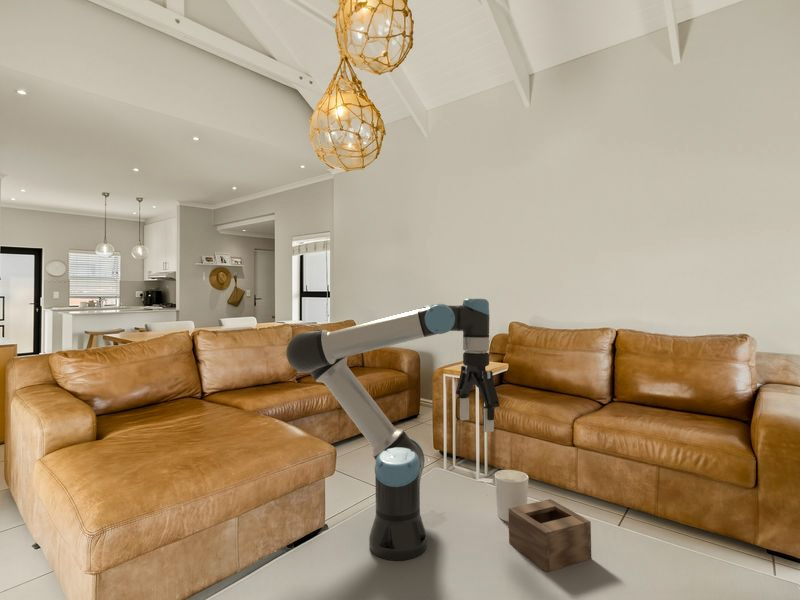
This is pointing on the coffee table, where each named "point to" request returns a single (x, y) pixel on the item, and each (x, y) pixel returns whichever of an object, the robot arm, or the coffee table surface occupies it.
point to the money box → (550, 534)
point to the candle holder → (510, 491)
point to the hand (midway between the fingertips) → (476, 425)
